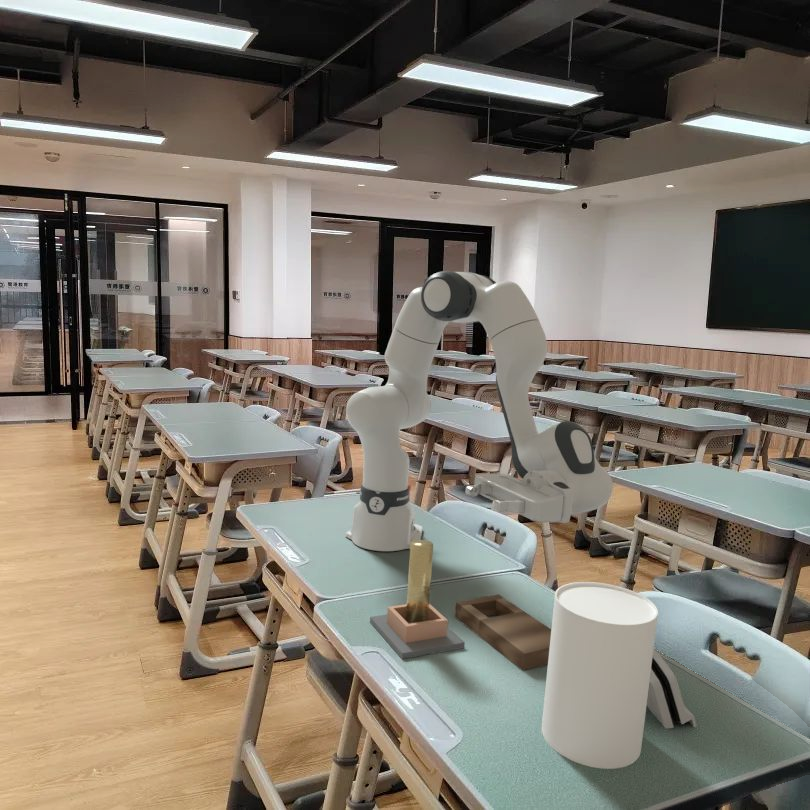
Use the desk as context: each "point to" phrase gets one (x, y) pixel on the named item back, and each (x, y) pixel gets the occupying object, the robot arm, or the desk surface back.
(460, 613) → the wooden block with recess
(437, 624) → the stand
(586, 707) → the canister
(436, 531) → the desk surface
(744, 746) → the desk surface
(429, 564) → the axle
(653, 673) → the white slotted casing
